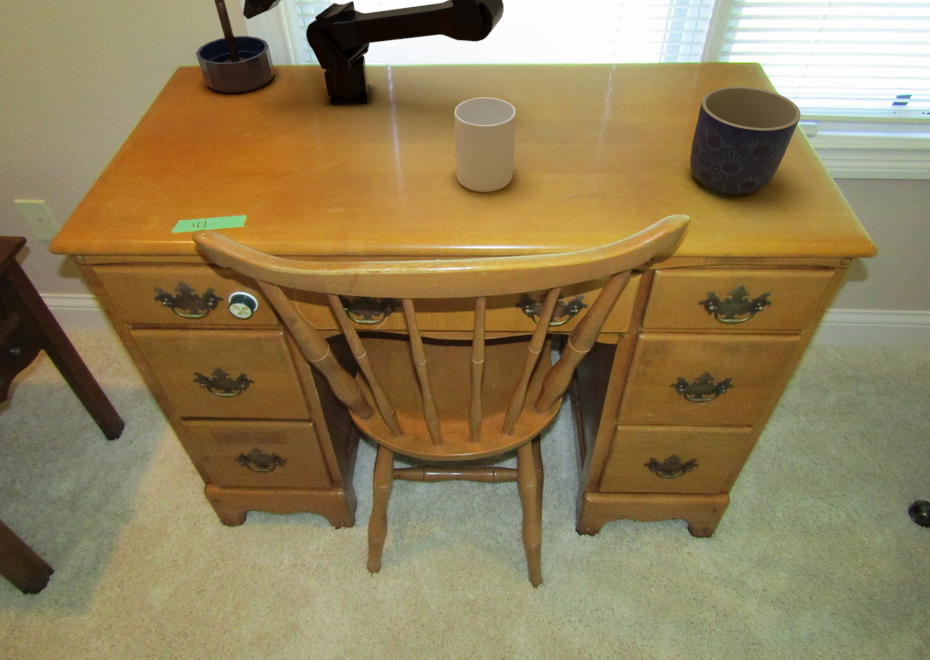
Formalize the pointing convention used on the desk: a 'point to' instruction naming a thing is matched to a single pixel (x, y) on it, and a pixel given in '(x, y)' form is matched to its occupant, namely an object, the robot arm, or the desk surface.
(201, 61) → the bowl
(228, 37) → the brown plunger
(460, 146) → the mug
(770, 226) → the desk surface
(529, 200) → the desk surface
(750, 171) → the planter
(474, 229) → the desk surface
